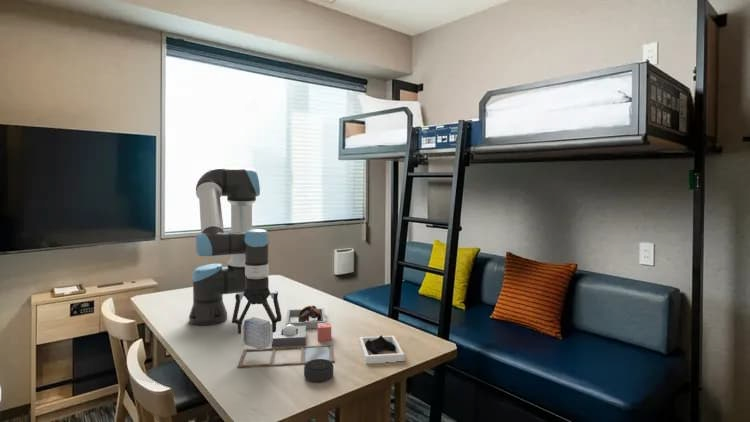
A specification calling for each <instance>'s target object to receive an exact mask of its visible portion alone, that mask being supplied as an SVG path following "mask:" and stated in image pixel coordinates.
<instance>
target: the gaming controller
mask: <svg viewBox="0 0 750 422" xmlns="http://www.w3.org/2000/svg"><path fill="white" fill-rule="evenodd" d="M379 336H380V337H379V338H378V339H375V340H372V341H370V339H369V340H368V341H367V342H366V343H365V347H366V350H367V353H368V354H369V355H379V352H381V351H384V350H388V351H392V352H393V351H395V345H394V344H393V343H391V342H389V341H387V340H385V339H384V338H383V337H382V336H383V335H379Z"/></svg>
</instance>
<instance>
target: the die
mask: <svg viewBox="0 0 750 422" xmlns="http://www.w3.org/2000/svg"><path fill="white" fill-rule="evenodd" d="M331 323H332V322H327V321H326V323H318V328H317V341H321V342H323V341H332V324H331Z"/></svg>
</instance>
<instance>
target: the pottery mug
mask: <svg viewBox="0 0 750 422" xmlns="http://www.w3.org/2000/svg"><path fill="white" fill-rule="evenodd" d="M301 309H302V310H301V311H300V312H299V314H300V315H299V314H298V315H297V319H298V321H297V322H310V319H317V321H322V315H320V312H319V311H318V310H317V309H318V307H316V306H315V305H308V306H307V305H306V306H304V307H303V308H301ZM307 310H308V313H307V314H306V315H302V314H303V313H304V312H305V311H307Z"/></svg>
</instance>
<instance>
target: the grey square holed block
mask: <svg viewBox="0 0 750 422" xmlns="http://www.w3.org/2000/svg"><path fill="white" fill-rule="evenodd" d="M284 327H285V326H276V332H273V342H272V343H271V348H278V347H297V346H307V345H306V342H307V341H306V339H307V329H306V326H295V327H296V334H295V335H283V328H284Z"/></svg>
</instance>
